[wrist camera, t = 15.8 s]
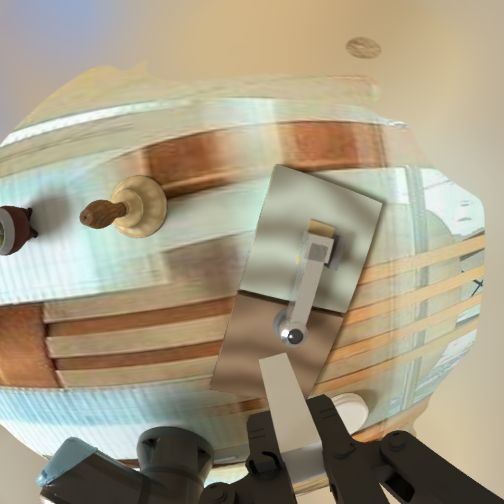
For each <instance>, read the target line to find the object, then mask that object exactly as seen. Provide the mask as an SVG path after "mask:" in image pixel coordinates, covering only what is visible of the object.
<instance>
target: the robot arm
mask: <svg viewBox="0 0 504 504" xmlns="http://www.w3.org/2000/svg"><path fill="white" fill-rule="evenodd" d="M259 363H260V368H261V372H262V377H263V381H264V385H265V390H266V394H267V398H268V403H269V407H270V410H269V411H265V412H261V413H257V414H252V415H250V416H249V419H248V421H247V423H246V424H247V432H248V439H249V447H250V455H249V457H248V458H247V460H246V464H245V466H246V468H247V470H248V472H249V473H248V474H247V475H246V476H245V477H244V478H242V479H240V480H238V481H236V482H234V483H231V484H227V483H223V482H216V483H212V484H210V485H208V486H207V487H205V488H204V482H205V480H206V478H207V476H208V474H209V472H210V470H211V468H212V465H213V449H212V447H211V446H210V444H209V443H208V442H207V441H206V440H205V439H203V438H202V437H200V436H198V435H196V434H194V433H192V432H189V431H186V430H183V429H178V428H172V427H158V428H153V429H149V430H147V431H145V432H144V433H142V434H141V436H140V437H139V440H138V444H137V456H138V462H139V467H140V472H138V471H136V470H134V469H132V468H130V467H128V466H126V465H124V464H122V463H120V462H119V461H117V460H115V459H113V458H111V457H110V456H108V455H106V454H104V453H103V452H101V451H99V450H98V448H96V447H93V446H91V445H89V444H87V443H86V442H84V441H82V440H81V439H79V438H76V437H70V438H67V439H66V440H65V441H64V443H63V444H62V445H61V446H60V448H59V449H58V450H57V452H56V453H55V454H54V456H53V457H52V458H51V459H50V461H49V462H48V463H47V465H46V466H45V467H44V469H43V470H42V472H41V473H40V474H39V476H38V477H37V478H36V482H37V483H38V484H39V486H40V487H43V489H42V491H41V493H40V495H39V497H40V499H41V501H42V503H43V504H297V501H296V496H295V493H294V490H293V487H292V484H296V483H300V482H304V481H307V480H311V479H314V478H318V477H321V476H324V475H326V474H327V476H328V479H329V486H330V492H332V493H333V496H334V499H335V501H336V504H390V503H389V501H388V499H387V497H386V495H385V494H384V492H383V490H382V488H381V486H380V484H381V485H382V486H383V487H384V488H385V489H386V490H387V491H388V492H390V494H391V495H393V497H395V498H396V499H397V500H398V501H399V502H400V503H401V504H504V500H503V499H502V498H500V497H499V496H497V495H495V494H494V493H492V492H491V491H489V490H488V489H486V488H485V487H483V486H482V485H481V484H479V483H477V482H476V481H475V480H473V479H472V478H470V477H469V476H467V475H466V474H465V473H463V472H462V471H460V470H459V469H457V468H456V467H455V466H453V465H452V464H450V463H449V462H448V461H446V460H445V459H444V458H442V457H441V456H439V455H438V454H437V453H435V452H434V451H433V450H431V449H430V448H428V447H427V446H426V445H425V444H423V443H422V442H420V441H419V440H418V439H417V438H415V437H414V436H413V435H411V434H410V433H408V432H406V431H401V430H398V431H392V432H390V433H388V434H387V435H386V436H385V437H384V438H383V439H382V441H376V442H368V443H364V442H359V441H356V440H354V439H353V438H352V437H351V436H350V434H349V432H348V430H347V428H346V426H345V425H344V423H343V421H342V419H341V417H340V415H339V413H338V411H337V409H336V408H335V405H334V403H333V402H332V400H331V399H330V398H329V397H327V396H326V395H324V394H323V395H320V396H316V397H313V398H310V399H307V400H305V399H304V397H303V394H302V392H301V389H300V387H299V384H298V382H297V379H296V377H295V374H294V371H293V369H292V366H291V364H290V361H289V359H288V356H287V354H286V353H282V354H279V355H275V356H271V357H267V358H264V359H260V360H259ZM379 483H380V484H379Z"/></svg>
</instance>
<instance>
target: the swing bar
mask: <svg viewBox="0 0 504 504" xmlns="http://www.w3.org/2000/svg"><path fill="white" fill-rule="evenodd" d="M333 242H334V239H331V238H329V237H327V236H322V235H318V234H314V233H310V232H306V231H304V233H303V237H302V241H301V245H300V249H299V253H298V254H299V255H300V256H301V260H300V264H299V268H298V272H297V275H296V279H295V283H294V286H293V290H292V294H291V297H290V301H289V305H288V308H287V312H286V315H285V316H283V317H282V318H281V319H280V320H279V321H278V324H277V330H278V332H279V335H280V337H281V340H282V342H283V344H284V345H286V346H288V347H298V346H300V345H302V344H303V343H304V342H305V341H306V340H307V338H308V330H307V328H306V323H307V320H308V316H309V313H310V310H311V307H312V303H313V300H314V297H315V293H316V290H317V286H318V283H319V279H320V276H321V272H322V269H323V265H324V263H328V261H329V257H330V253H331V250H332V246H333Z"/></svg>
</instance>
